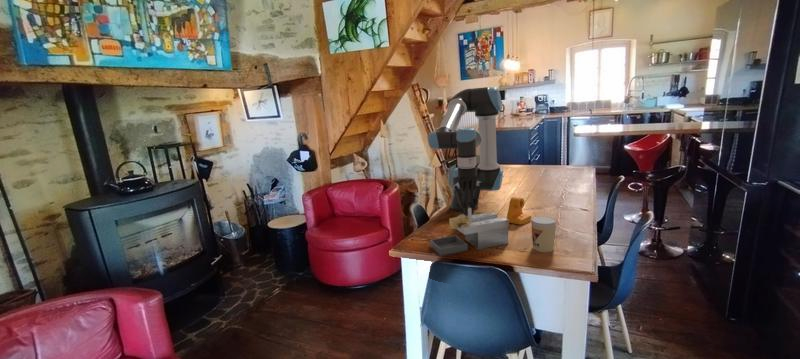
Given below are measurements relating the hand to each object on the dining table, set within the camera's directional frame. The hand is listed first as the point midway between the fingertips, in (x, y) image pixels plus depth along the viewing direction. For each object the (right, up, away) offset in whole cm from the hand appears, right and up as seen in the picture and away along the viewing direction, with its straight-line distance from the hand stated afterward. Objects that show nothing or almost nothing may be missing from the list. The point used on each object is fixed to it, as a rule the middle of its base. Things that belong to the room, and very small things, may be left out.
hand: (468, 222), depth 156 cm
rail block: (+5, -9, +4) cm, 11 cm away
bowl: (+4, -6, +20) cm, 21 cm away
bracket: (+29, -3, +26) cm, 39 cm away
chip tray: (-8, -11, 0) cm, 14 cm away
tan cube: (-2, -1, 0) cm, 3 cm away
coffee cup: (+29, -10, -6) cm, 31 cm away
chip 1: (-6, -2, -1) cm, 6 cm away
